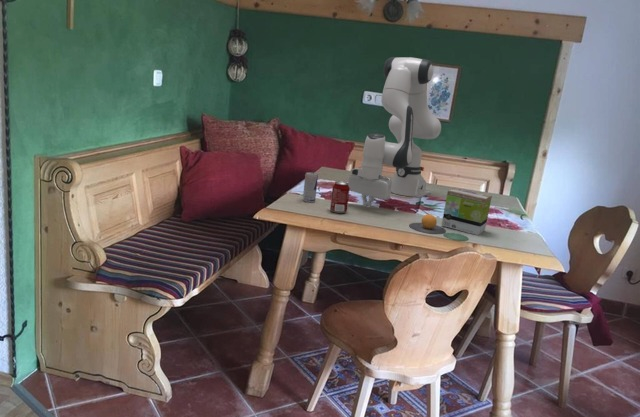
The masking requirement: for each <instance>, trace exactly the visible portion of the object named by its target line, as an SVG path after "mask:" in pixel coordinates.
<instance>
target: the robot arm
mask: <svg viewBox="0 0 640 417" xmlns="http://www.w3.org/2000/svg"><path fill="white" fill-rule="evenodd" d="M382 69H383V70H382V72H383V76H384V78H385V83H384V86H383V90H382V94H381V104H382V107H383V108H384V109H385V111H386V112H388V113H389V114H391V116H390V118H389V121H388V127H389V130H390V133H392V134H393V136H394V137H395V139H396V140H397V142H389V141H386V136H385V134H382V133H376V132H375V133H368V134H367V135H366V138H365V141H364V145H363V151H362V162H361V164H360V165H361V166H360V167H355V168H352V169H350V170H349V171H350V175H349V177H348V181H347V183H349V184H348V186H349V188H350V190H349V192H353V193H356V194H361V198H362V201H363V203H362V205H363V206H366V207H371V206H372V202H373V201H374V199H379V200H382V201H388V200H390V198H391V197H392V194H395V195H400V196H406V197H415V198H423V197H425V196H427V195H429V194H431V191H430V190H427V181H426V179H425V178H424V177H423V176H422V172H423V171H424V172H425V167H424V166H421V162H422V157H423V156H422V154H423V152H422V149H421V148H420V146H418V145H417V144H415V143H414V142H415V141H414V140H413V138H416V139H422V140H434V139H437V138H438V137H439V135H440V134H441V131H442V123H441V121H440V119H438V118H437V117H436V116H435V115H434V114H433V113H432V111H431V109H430V107H429V104H428V96H427V94H428V92H427V90H428V89H427V88H428V87H427V86H428V85H427V84H429V82H430V81H431V80H432V78H433V76H434V64H433V62H432V61H431V60H428V59H426V58H417V57H411V56H409V57H408V56H407V57H399V56H398V57H396V56H392V57H389V58H387V59H386V60H385V61H384V65H383V68H382ZM383 165H384V166H391V167H394V168H395V173H393V175H392V179H390V177H388V176H384V175H383V169H384V168H383V167H384V166H383ZM367 197H368V200H367Z"/></svg>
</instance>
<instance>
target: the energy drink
mask: <svg viewBox="0 0 640 417" xmlns="http://www.w3.org/2000/svg"><path fill="white" fill-rule="evenodd" d="M318 175H319V174H318V173H316V172H305V174H304V176H305V177H304V184H303V194H302V201H303V202H304V203H315V202H316V196H317V188H318V178H319V176H318Z"/></svg>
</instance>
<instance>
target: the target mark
mask: <svg viewBox="0 0 640 417" xmlns="http://www.w3.org/2000/svg"><path fill="white" fill-rule="evenodd" d="M408 226H409V228H410V229H412V230H413V231H417V232H420V233H424V234H432V235H444V233H447V230H446V229H445V227H443V226H439V225H437V224H436V225H435V227H434V228H432V229H427V228H425V227H424V226H423V225H422V222H411V223H409V225H408Z"/></svg>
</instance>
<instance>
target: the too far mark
mask: <svg viewBox="0 0 640 417" xmlns="http://www.w3.org/2000/svg"><path fill="white" fill-rule="evenodd" d="M443 237H445V238H447V239H449V240H453V241H459V242H466V241H468V240H469V236H466V235H464V234H460V233H456V232H446V233H443Z"/></svg>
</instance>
